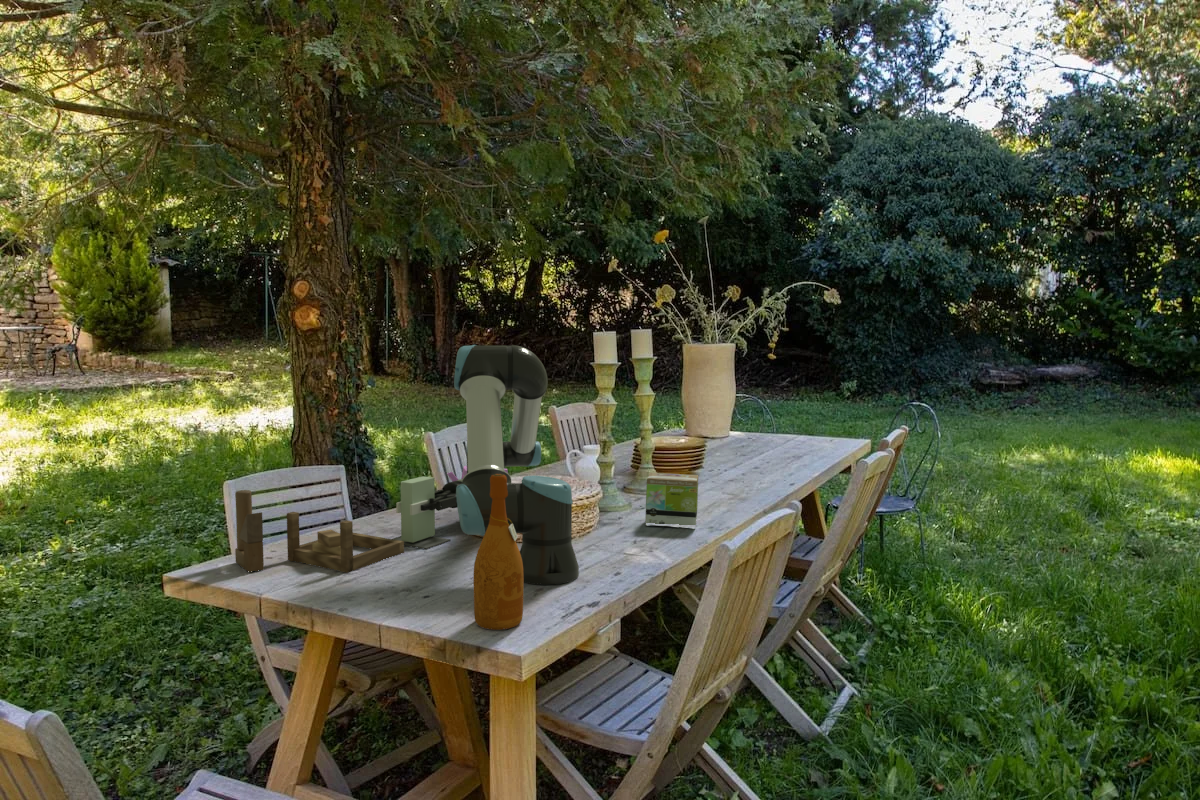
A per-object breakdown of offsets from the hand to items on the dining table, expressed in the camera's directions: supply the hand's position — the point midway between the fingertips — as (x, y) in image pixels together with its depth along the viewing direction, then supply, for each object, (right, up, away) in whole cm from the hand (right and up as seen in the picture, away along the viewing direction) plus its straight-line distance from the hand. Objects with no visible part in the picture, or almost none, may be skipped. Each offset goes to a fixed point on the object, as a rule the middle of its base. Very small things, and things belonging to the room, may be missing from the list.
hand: (404, 509), depth 216 cm
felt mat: (+2, -10, +6) cm, 11 cm away
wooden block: (-33, -12, -18) cm, 40 cm away
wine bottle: (+32, -16, -54) cm, 64 cm away
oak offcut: (-15, -9, -15) cm, 23 cm away
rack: (-12, -11, -9) cm, 19 cm away
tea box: (+73, -9, +28) cm, 79 cm away
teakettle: (+10, -5, +62) cm, 64 cm away
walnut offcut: (-15, -7, -15) cm, 22 cm away
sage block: (+2, -9, +6) cm, 10 cm away
